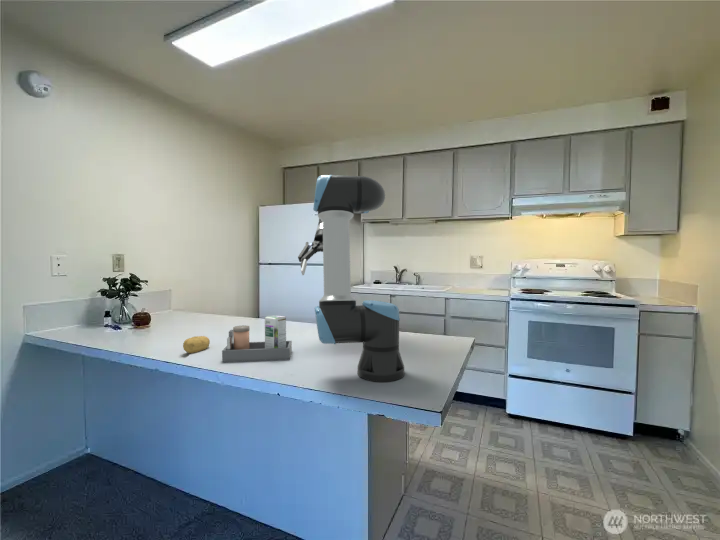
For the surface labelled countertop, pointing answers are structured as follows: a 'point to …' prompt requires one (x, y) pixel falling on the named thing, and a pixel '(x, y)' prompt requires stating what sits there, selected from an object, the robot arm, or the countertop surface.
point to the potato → (196, 344)
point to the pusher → (230, 340)
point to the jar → (241, 337)
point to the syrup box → (275, 332)
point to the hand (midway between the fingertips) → (314, 272)
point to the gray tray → (257, 353)
